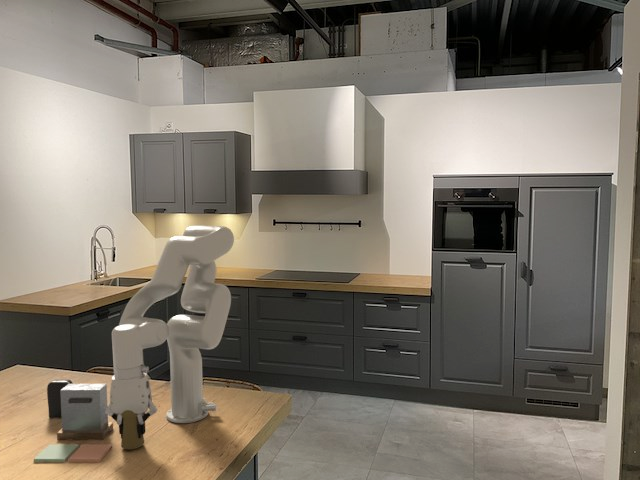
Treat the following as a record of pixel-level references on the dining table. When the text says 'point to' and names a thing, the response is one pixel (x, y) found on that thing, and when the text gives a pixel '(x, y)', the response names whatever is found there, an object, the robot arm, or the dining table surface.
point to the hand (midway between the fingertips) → (132, 435)
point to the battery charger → (55, 397)
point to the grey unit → (84, 412)
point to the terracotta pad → (90, 453)
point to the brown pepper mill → (130, 431)
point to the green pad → (56, 453)
